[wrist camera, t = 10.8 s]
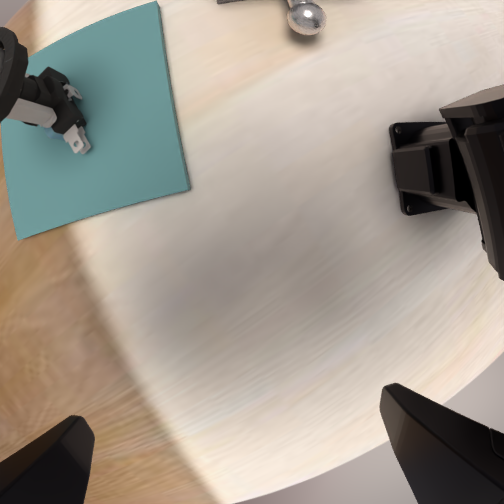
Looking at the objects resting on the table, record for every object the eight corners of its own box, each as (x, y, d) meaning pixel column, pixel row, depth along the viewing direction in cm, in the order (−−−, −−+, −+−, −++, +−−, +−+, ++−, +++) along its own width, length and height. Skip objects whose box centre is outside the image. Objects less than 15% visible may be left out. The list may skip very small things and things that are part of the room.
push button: (121, 125, 16) (20, 86, 6) (62, 178, 16) (-50, 189, 7) (80, 59, 14) (-8, 2, 5) (27, 109, 15) (-72, 89, 5)
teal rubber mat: (159, 7, 15) (156, 0, 14) (190, 189, 18) (188, 190, 17) (8, 78, 15) (1, 76, 14) (25, 238, 18) (18, 240, 17)
